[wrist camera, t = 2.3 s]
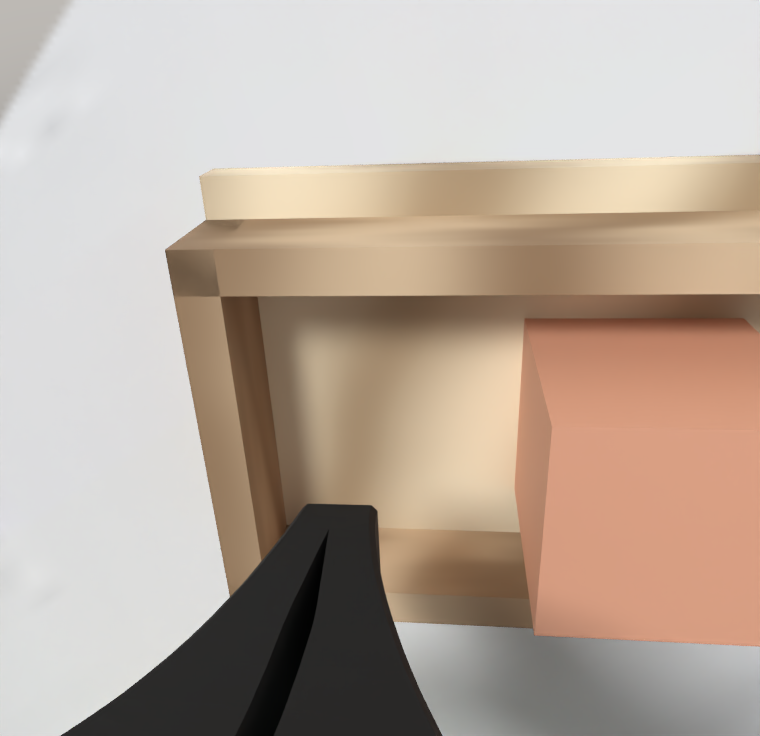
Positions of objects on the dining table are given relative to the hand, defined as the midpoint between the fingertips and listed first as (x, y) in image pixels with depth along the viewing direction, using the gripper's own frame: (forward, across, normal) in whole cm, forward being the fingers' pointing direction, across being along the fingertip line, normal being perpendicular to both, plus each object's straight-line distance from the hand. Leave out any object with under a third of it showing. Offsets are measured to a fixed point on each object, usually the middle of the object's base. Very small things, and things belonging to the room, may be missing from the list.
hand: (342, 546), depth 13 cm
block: (+5, -6, 0) cm, 8 cm away
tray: (+6, -8, 0) cm, 10 cm away
